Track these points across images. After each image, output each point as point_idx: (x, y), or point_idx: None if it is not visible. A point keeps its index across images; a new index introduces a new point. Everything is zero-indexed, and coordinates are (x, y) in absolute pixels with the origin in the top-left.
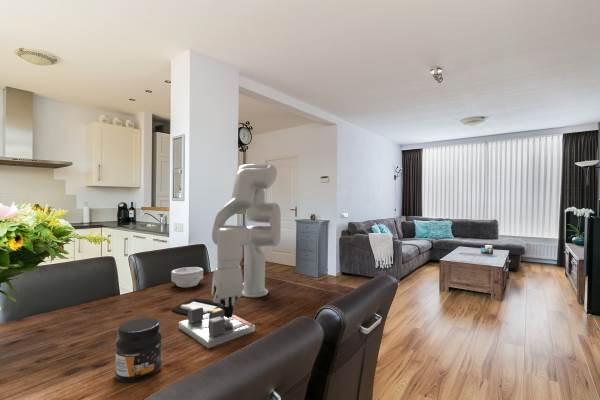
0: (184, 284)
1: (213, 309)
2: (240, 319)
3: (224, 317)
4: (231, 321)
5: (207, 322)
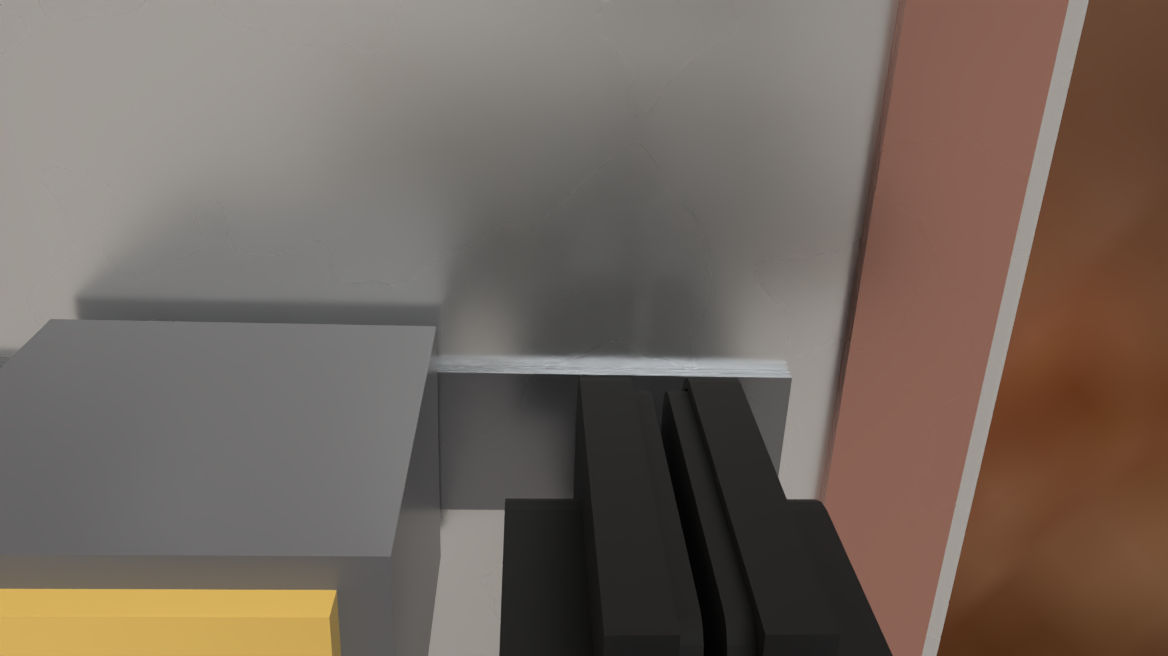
0: None
1: (7, 629)
2: None
3: (694, 205)
4: None
5: (63, 176)
